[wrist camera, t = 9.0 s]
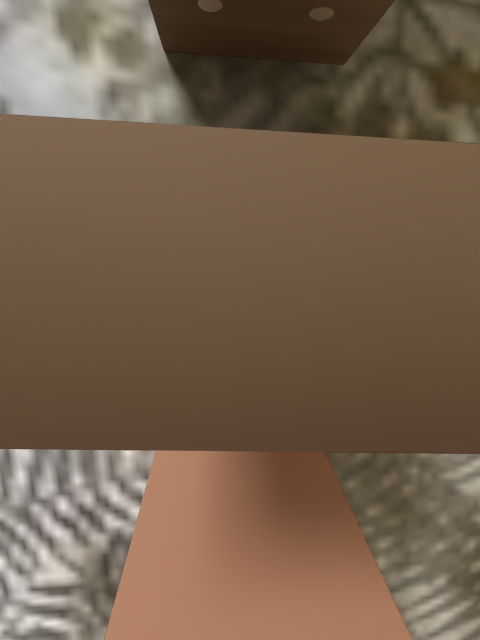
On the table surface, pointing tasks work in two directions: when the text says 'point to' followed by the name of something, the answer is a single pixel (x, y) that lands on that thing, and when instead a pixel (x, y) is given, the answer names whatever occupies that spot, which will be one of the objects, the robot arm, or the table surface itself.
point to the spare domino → (249, 554)
